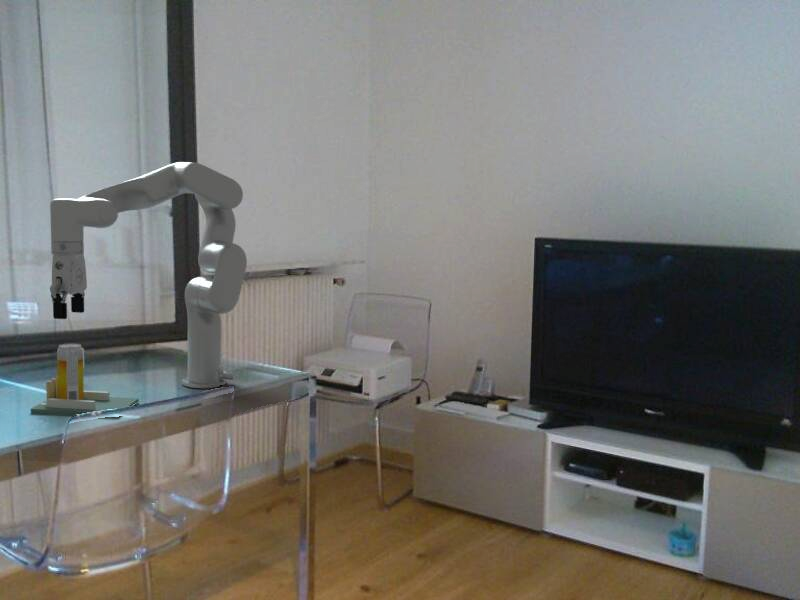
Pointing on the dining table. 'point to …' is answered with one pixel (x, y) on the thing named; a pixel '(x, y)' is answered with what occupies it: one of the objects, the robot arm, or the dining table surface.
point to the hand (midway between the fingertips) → (69, 315)
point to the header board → (78, 402)
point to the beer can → (70, 371)
